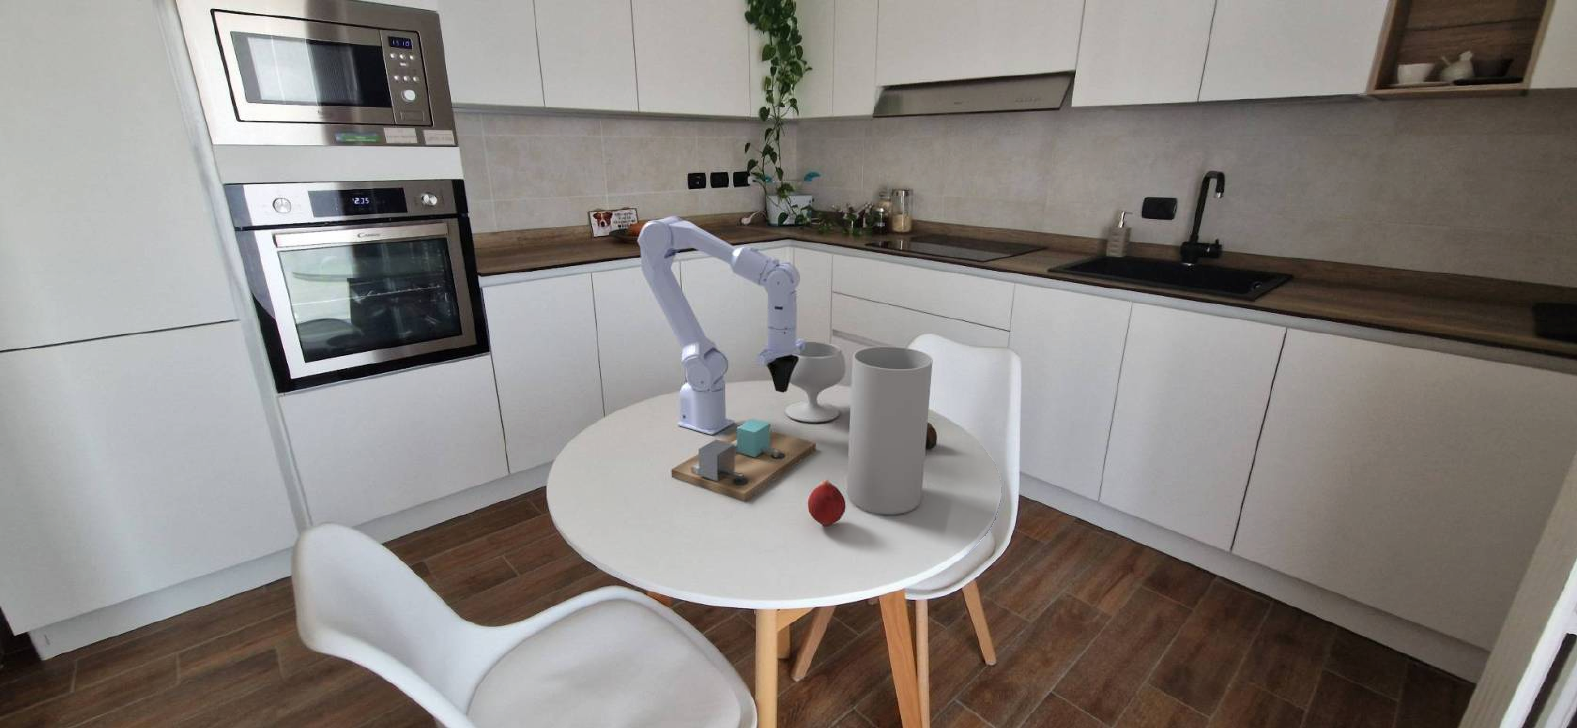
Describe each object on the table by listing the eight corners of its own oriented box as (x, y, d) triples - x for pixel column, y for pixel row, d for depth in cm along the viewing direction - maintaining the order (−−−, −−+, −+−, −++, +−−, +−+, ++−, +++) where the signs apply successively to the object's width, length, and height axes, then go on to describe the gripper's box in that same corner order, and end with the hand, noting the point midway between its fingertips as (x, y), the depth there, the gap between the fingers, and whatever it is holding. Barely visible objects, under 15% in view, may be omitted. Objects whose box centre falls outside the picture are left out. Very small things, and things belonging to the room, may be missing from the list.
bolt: (862, 467, 128) (926, 450, 134) (875, 464, 124) (940, 447, 130) (855, 437, 129) (918, 422, 135) (867, 434, 125) (932, 418, 131)
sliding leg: (737, 452, 125) (736, 427, 124) (752, 442, 129) (752, 418, 128) (770, 461, 122) (770, 436, 120) (785, 451, 126) (785, 427, 124)
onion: (848, 519, 106) (850, 474, 104) (839, 538, 101) (840, 491, 99) (813, 513, 108) (814, 468, 106) (802, 531, 103) (803, 485, 101)
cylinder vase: (878, 524, 105) (887, 375, 97) (832, 491, 115) (837, 353, 107) (936, 504, 111) (949, 362, 104) (887, 474, 121) (896, 342, 114)
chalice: (794, 429, 140) (795, 361, 135) (772, 406, 152) (772, 343, 148) (854, 420, 145) (857, 355, 140) (827, 399, 157) (829, 337, 153)
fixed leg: (699, 475, 116) (698, 449, 115) (716, 464, 120) (716, 439, 119) (733, 486, 112) (733, 459, 111) (751, 475, 117) (750, 449, 115)
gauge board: (671, 476, 119) (671, 463, 119) (749, 431, 139) (748, 419, 138) (744, 501, 111) (744, 487, 111) (815, 449, 131) (816, 437, 130)
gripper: (778, 337, 123) (777, 405, 127) (818, 321, 135) (816, 384, 139) (747, 331, 127) (747, 398, 131) (789, 316, 138) (788, 378, 143)
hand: (781, 390), depth 135 cm, fingers closed
